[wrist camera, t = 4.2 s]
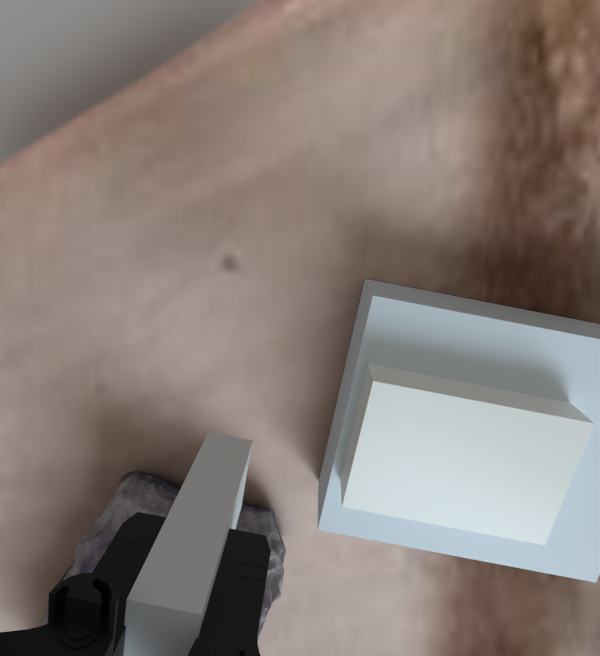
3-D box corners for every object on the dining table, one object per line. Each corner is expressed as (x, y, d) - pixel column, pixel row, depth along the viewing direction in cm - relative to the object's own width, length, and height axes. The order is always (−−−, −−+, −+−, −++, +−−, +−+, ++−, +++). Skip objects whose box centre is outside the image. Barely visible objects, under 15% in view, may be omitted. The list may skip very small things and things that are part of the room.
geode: (166, 722, 33) (76, 927, 24) (34, 626, 33) (-108, 791, 24) (329, 535, 27) (297, 708, 18) (167, 419, 28) (49, 529, 18)
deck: (318, 481, 27) (317, 529, 23) (364, 278, 24) (372, 295, 20) (557, 527, 27) (595, 582, 23) (637, 331, 24) (698, 358, 20)
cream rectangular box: (340, 479, 22) (341, 506, 20) (368, 363, 21) (373, 380, 19) (526, 515, 22) (544, 545, 20) (569, 401, 21) (594, 423, 19)
